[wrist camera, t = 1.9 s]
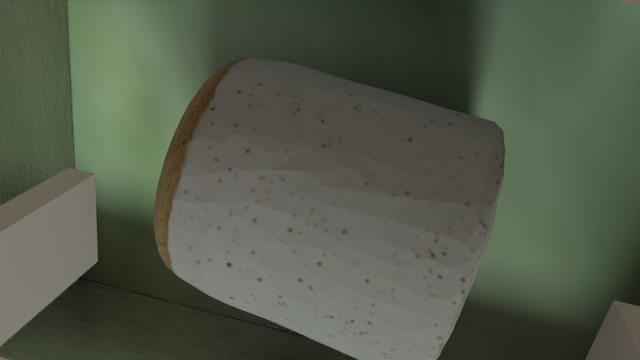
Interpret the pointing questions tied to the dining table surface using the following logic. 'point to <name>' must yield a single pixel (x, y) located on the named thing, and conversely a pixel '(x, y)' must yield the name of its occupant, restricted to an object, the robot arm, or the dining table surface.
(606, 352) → the robot arm
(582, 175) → the dining table surface
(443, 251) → the ceramic mug
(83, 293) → the equipment case
